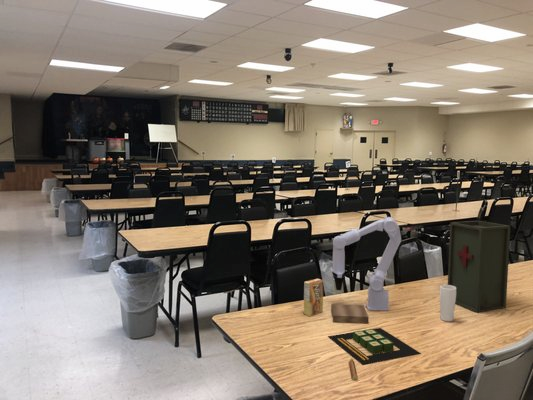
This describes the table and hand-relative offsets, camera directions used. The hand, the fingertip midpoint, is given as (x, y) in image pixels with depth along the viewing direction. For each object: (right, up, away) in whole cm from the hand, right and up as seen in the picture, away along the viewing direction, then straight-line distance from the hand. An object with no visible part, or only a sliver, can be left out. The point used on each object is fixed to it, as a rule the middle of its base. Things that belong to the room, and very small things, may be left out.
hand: (338, 288), depth 206 cm
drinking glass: (+45, -10, -18) cm, 50 cm away
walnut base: (+2, -10, -14) cm, 18 cm away
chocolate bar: (-6, -15, -64) cm, 66 cm away
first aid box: (+68, -9, +2) cm, 69 cm away
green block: (0, -2, 0) cm, 2 cm away
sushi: (+6, -14, -44) cm, 46 cm away
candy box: (-13, -10, -10) cm, 19 cm away
